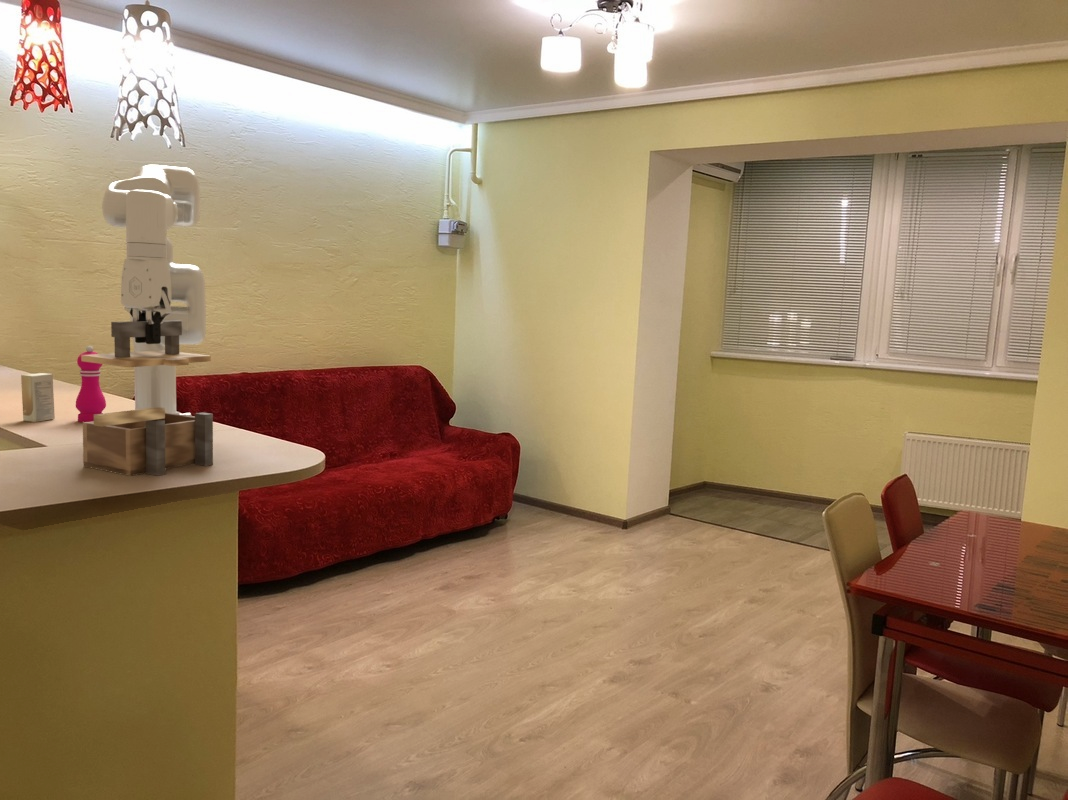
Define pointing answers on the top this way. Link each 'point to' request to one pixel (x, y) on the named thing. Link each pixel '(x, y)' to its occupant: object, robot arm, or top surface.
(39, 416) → the skincare box
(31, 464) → the top surface
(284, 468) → the top surface
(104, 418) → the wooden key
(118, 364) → the toolbox lid
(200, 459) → the toolbox
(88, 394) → the pepper mill
